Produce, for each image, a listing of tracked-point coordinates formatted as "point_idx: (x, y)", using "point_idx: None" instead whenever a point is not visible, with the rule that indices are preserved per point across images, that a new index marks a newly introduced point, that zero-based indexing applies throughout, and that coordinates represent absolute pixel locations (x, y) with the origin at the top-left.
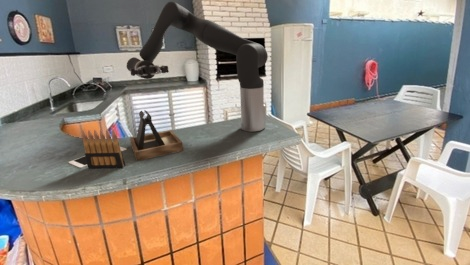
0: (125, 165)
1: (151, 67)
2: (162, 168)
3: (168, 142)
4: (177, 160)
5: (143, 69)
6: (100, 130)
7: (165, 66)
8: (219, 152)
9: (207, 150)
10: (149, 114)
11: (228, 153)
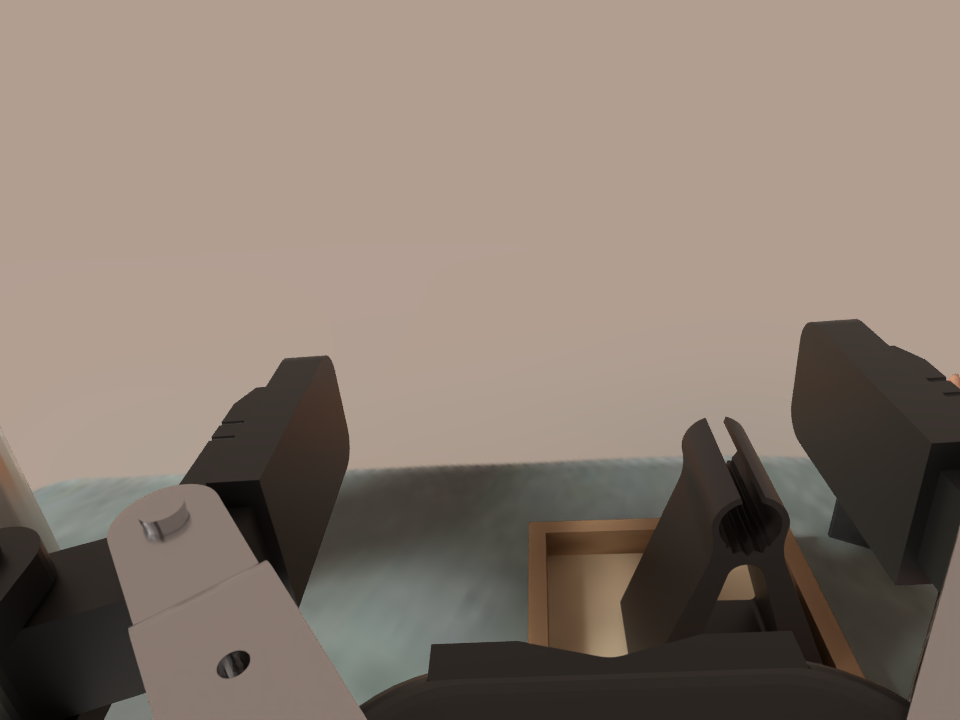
0: (828, 533)
1: (500, 693)
2: (655, 467)
3: (591, 638)
4: (586, 494)
5: (899, 707)
6: (956, 375)
7: (39, 547)
8: (403, 487)
9: (432, 518)
10: (692, 435)
11: (381, 469)
